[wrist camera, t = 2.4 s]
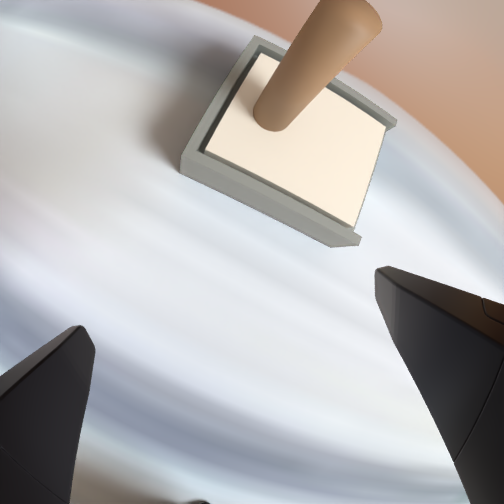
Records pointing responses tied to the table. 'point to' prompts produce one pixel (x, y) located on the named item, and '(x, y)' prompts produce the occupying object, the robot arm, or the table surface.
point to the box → (252, 189)
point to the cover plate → (307, 117)
